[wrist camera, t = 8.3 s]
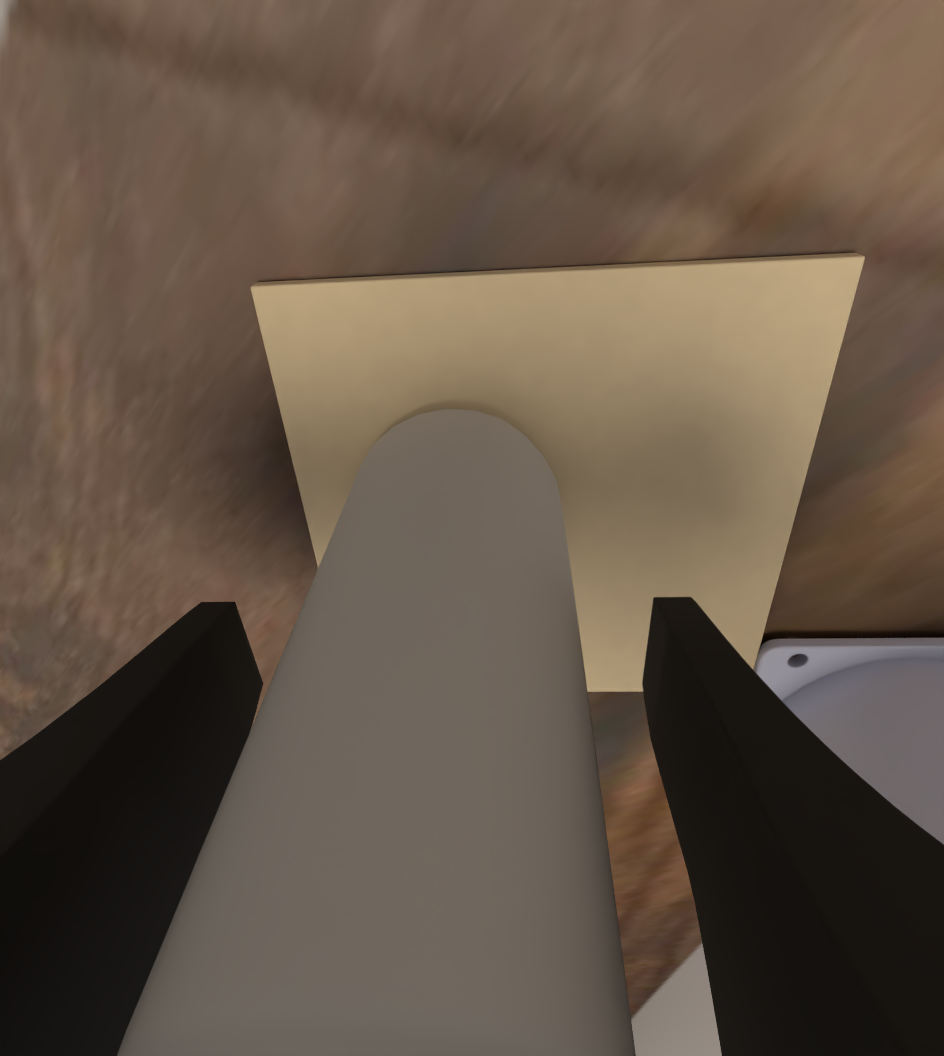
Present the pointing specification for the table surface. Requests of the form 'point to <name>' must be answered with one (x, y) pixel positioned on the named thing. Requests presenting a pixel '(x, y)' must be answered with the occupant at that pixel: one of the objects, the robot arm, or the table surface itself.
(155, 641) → the robot arm
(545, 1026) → the beverage can
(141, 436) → the table surface
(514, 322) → the mat
